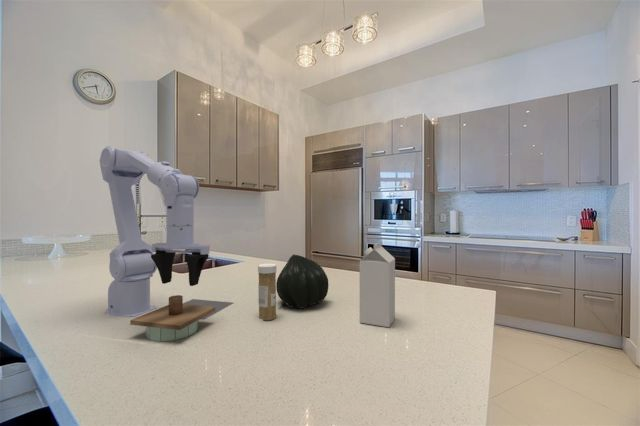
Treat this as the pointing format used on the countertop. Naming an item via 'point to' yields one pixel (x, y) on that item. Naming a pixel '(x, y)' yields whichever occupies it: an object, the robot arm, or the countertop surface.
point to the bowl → (170, 333)
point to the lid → (173, 315)
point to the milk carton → (377, 287)
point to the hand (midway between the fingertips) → (180, 283)
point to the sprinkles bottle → (267, 291)
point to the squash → (302, 282)
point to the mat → (216, 304)
